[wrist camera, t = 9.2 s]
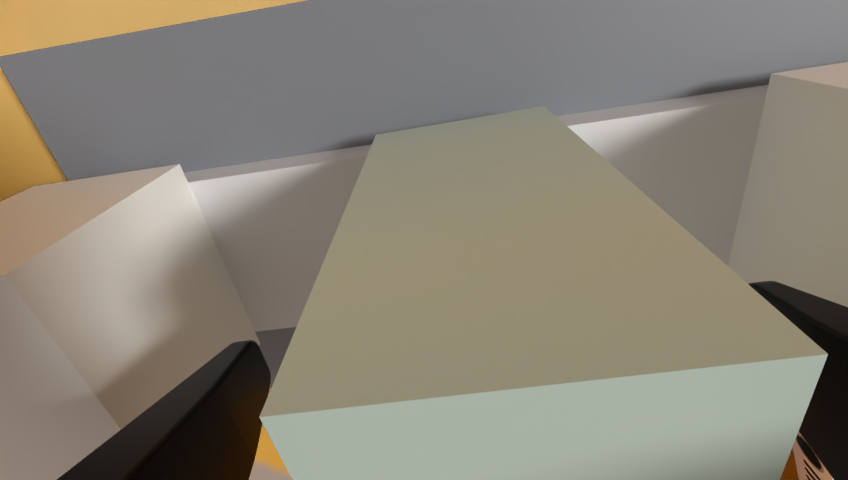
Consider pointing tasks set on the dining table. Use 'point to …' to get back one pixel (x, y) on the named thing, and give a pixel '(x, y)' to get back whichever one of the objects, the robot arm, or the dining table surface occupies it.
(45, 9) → the dining table surface
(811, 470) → the computer
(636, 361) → the block
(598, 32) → the rail board
